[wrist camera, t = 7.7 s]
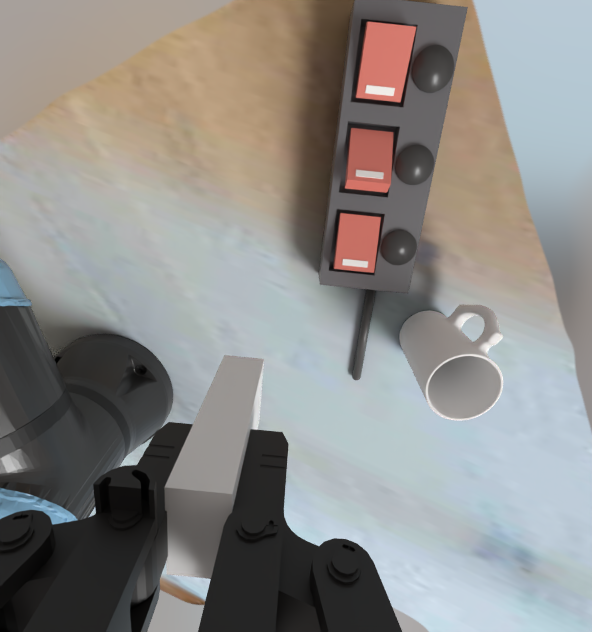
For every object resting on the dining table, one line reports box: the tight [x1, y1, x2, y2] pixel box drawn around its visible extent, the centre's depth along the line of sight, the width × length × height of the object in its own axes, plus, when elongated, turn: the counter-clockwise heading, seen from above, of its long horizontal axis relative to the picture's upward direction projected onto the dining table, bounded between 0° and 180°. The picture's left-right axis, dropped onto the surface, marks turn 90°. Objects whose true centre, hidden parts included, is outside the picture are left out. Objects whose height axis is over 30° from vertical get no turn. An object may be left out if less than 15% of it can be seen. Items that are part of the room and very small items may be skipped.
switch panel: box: [319, 0, 468, 380], centre depth 39 cm, size 9×36×5 cm, turn 174°
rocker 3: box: [333, 213, 381, 273], centre depth 38 cm, size 4×5×2 cm
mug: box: [399, 305, 503, 420], centre depth 40 cm, size 10×7×12 cm, turn 149°
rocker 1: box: [355, 22, 416, 102], centre depth 32 cm, size 4×5×2 cm
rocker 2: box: [345, 128, 393, 193], centre depth 35 cm, size 4×5×2 cm
